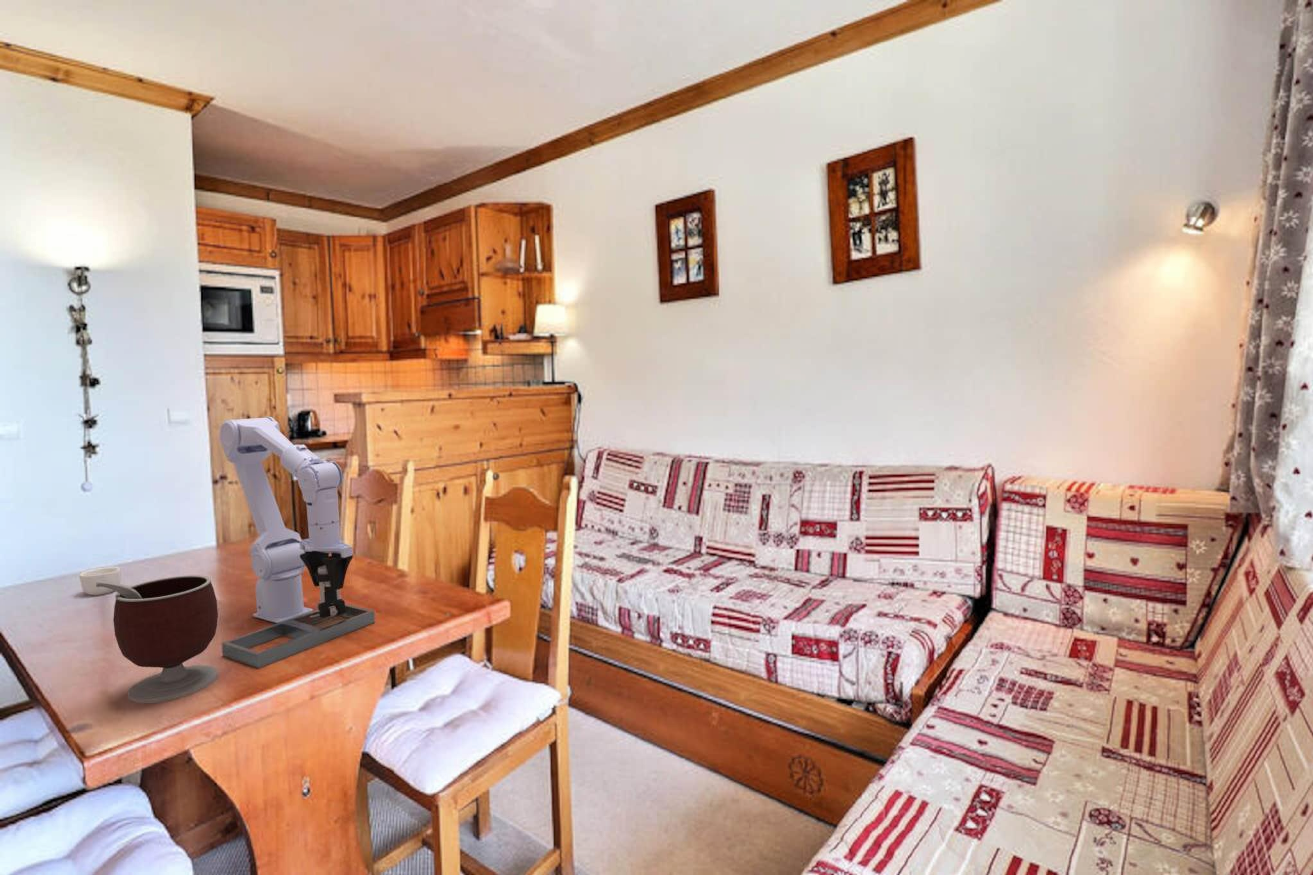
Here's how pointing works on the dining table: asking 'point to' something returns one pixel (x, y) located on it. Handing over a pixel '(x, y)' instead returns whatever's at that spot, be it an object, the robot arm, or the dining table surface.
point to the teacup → (99, 580)
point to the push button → (327, 596)
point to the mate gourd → (166, 633)
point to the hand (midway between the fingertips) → (328, 587)
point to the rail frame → (295, 636)
